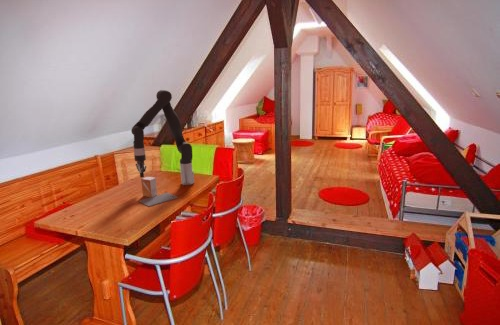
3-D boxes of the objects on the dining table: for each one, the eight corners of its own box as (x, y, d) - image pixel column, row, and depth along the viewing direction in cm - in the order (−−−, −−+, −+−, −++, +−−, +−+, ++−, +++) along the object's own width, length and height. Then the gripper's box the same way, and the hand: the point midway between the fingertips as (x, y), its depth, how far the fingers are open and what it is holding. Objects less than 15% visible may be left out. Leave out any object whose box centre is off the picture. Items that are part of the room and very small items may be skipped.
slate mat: (167, 193, 223) (167, 192, 222) (178, 197, 213) (178, 197, 213) (139, 201, 208) (138, 200, 208) (148, 206, 198) (148, 206, 198)
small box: (142, 196, 218) (140, 178, 215) (148, 193, 223) (147, 176, 220) (151, 197, 215) (150, 180, 211) (157, 194, 220) (156, 177, 217)
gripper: (148, 154, 217) (151, 177, 221) (140, 152, 226) (142, 174, 230) (138, 156, 212) (141, 180, 216) (130, 153, 221) (133, 176, 225)
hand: (142, 177), depth 223 cm, fingers closed
